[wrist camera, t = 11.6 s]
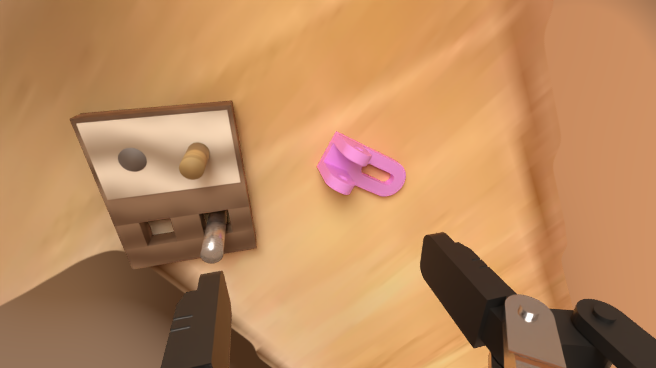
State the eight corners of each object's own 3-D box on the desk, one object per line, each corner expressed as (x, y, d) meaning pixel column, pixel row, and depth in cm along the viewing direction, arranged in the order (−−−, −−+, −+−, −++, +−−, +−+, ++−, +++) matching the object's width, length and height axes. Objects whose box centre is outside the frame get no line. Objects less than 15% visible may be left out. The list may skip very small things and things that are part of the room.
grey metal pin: (207, 207, 42) (198, 248, 34) (225, 205, 42) (220, 244, 35) (211, 222, 43) (202, 265, 35) (228, 219, 44) (224, 261, 36)
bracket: (316, 166, 43) (328, 188, 37) (335, 130, 42) (351, 147, 36) (388, 197, 48) (409, 220, 42) (408, 166, 47) (432, 186, 41)
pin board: (81, 113, 34) (39, 133, 27) (231, 100, 37) (228, 115, 30) (138, 257, 43) (118, 299, 36) (256, 237, 46) (257, 273, 39)
